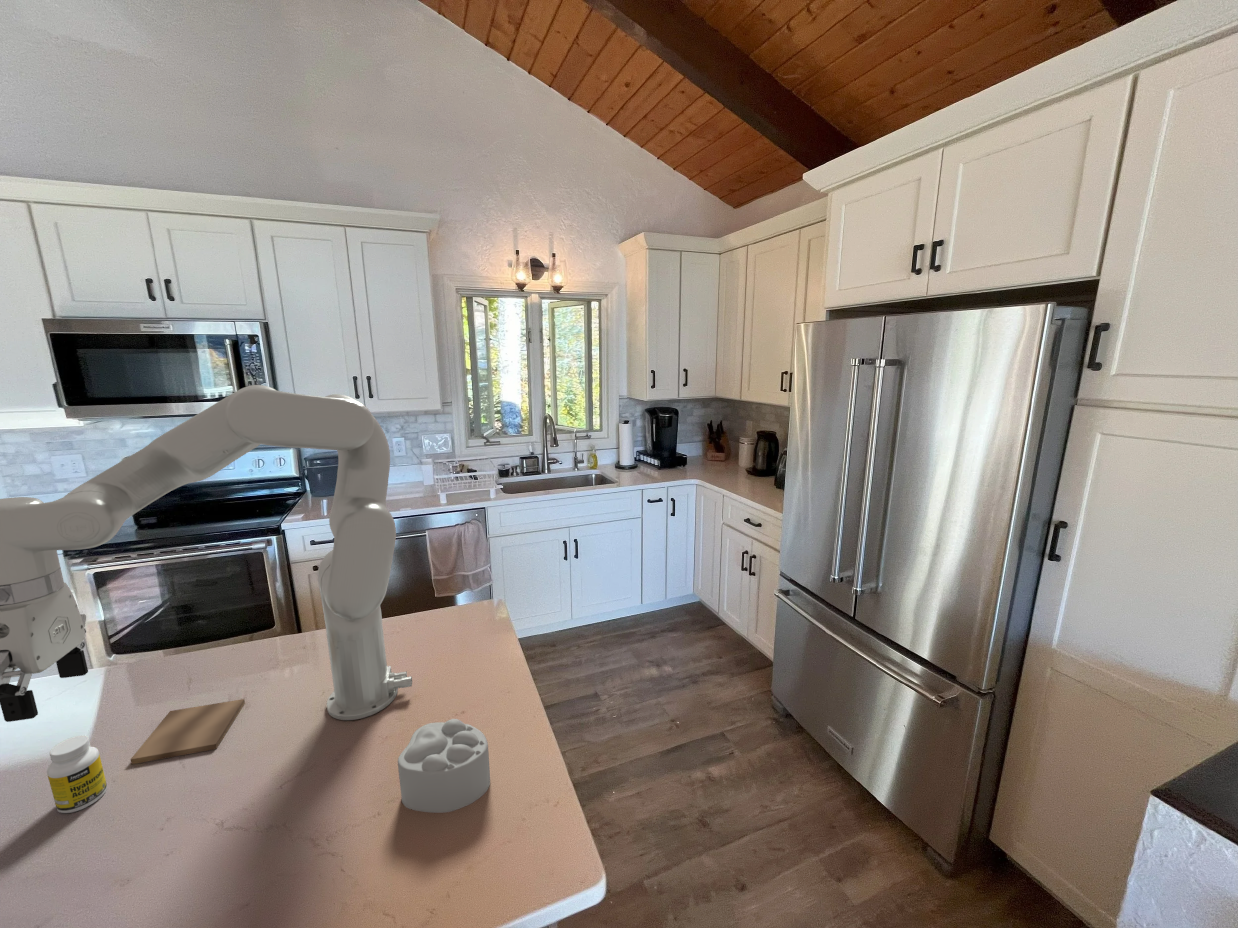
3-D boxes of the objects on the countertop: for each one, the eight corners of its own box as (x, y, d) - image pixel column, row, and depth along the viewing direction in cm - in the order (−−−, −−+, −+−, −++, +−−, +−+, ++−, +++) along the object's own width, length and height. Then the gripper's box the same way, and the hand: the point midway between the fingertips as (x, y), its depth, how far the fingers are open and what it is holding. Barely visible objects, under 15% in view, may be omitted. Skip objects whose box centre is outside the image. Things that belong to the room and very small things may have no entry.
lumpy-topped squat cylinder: (424, 755, 86) (420, 712, 84) (499, 760, 85) (496, 716, 83) (394, 810, 76) (388, 761, 74) (478, 815, 75) (474, 766, 73)
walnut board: (245, 703, 98) (244, 698, 98) (216, 748, 87) (215, 743, 87) (171, 715, 95) (170, 710, 95) (131, 764, 84) (130, 759, 83)
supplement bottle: (75, 817, 74) (59, 761, 72) (47, 811, 75) (31, 755, 73) (117, 787, 79) (103, 734, 77) (91, 781, 80) (76, 729, 78)
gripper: (4, 614, 62) (35, 732, 66) (99, 560, 79) (120, 658, 82) (-77, 621, 60) (-41, 744, 64) (38, 565, 76) (61, 665, 80)
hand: (49, 695), depth 73 cm, fingers open, 9 cm apart
